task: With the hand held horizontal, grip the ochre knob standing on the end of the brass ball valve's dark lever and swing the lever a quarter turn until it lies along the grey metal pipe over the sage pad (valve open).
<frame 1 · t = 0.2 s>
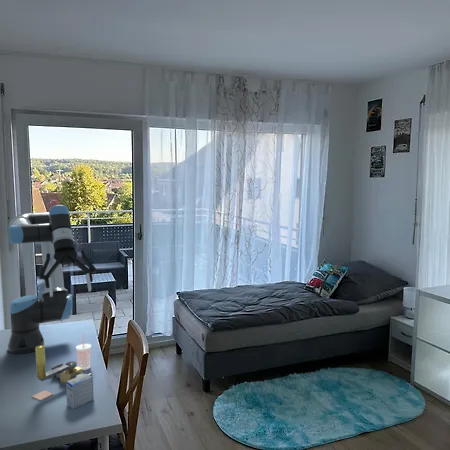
hand: (71, 293, 155), 35 cm above the table, tool tilted 35°, fingers open, 13 cm apart
beverage cup: (84, 367, 172), on the table
medicine box: (80, 403, 145), on the table
open pad: (49, 374, 166), on the table
lever: (56, 356, 154), point 12 cm above the table, hinge at 0.0°
closed pad: (42, 396, 149), on the table
valve: (71, 381, 160), on the table
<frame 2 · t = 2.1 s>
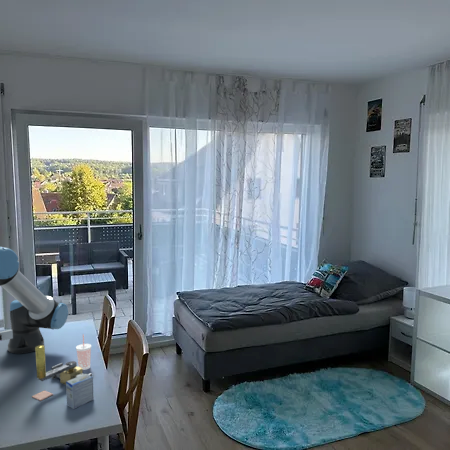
hand: (8, 328, 140), 27 cm above the table, tool horizontal, fingers open, 13 cm apart
nothing on the table moved.
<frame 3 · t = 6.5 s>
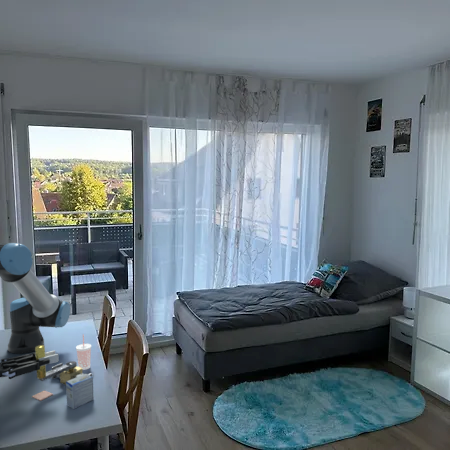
hand: (56, 355, 151), 14 cm above the table, tool horizontal, fingers closed on lever, 3 cm apart
lever: (56, 356, 154), point 12 cm above the table, hinge at 0.0°, touching gripper
everything else where it was.
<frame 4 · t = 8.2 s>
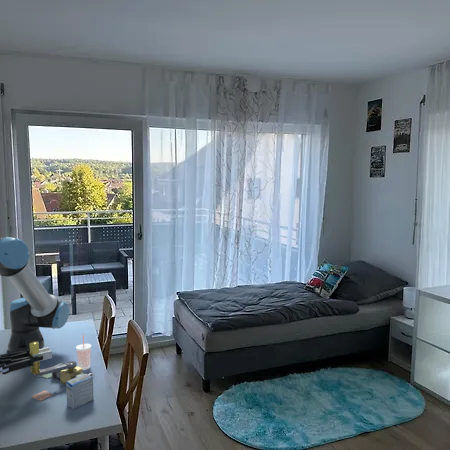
hand: (50, 352, 155), 13 cm above the table, tool horizontal, fingers closed on lever, 3 cm apart
lever: (53, 355, 155), point 12 cm above the table, hinge at 23.0°, touching gripper
everything else where it was.
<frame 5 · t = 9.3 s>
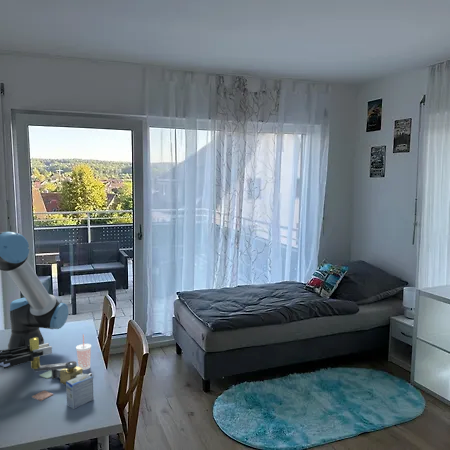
hand: (50, 348, 159), 13 cm above the table, tool horizontal, fingers closed on lever, 3 cm apart
lever: (53, 352, 157), point 12 cm above the table, hinge at 44.2°, touching gripper
everything else where it was.
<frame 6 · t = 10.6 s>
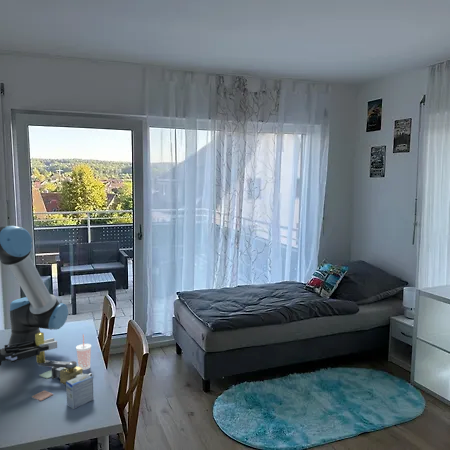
hand: (55, 342, 164), 13 cm above the table, tool horizontal, fingers closed on lever, 3 cm apart
lever: (55, 350, 160), point 12 cm above the table, hinge at 67.3°, touching gripper
everything else where it was.
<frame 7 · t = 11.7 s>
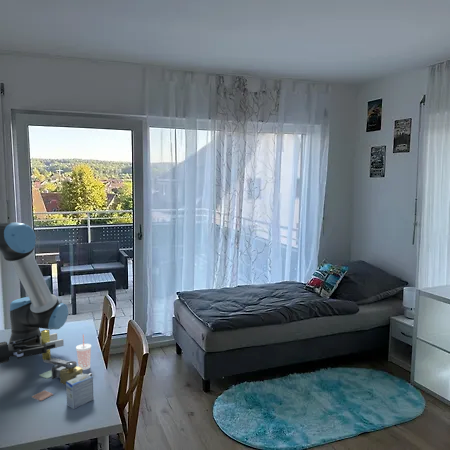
hand: (60, 339, 167), 13 cm above the table, tool horizontal, fingers open, 7 cm apart
lever: (58, 348, 161), point 12 cm above the table, hinge at 81.8°
everything else where it was.
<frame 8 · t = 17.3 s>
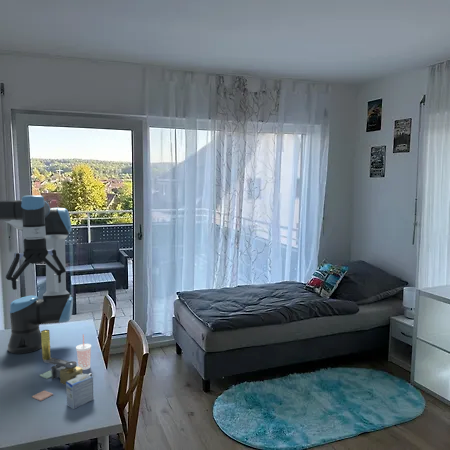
hand: (37, 294, 154), 35 cm above the table, tool pointing down, fingers open, 13 cm apart
nothing on the table moved.
at the end: lever at +82° (first picture: +0°) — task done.
